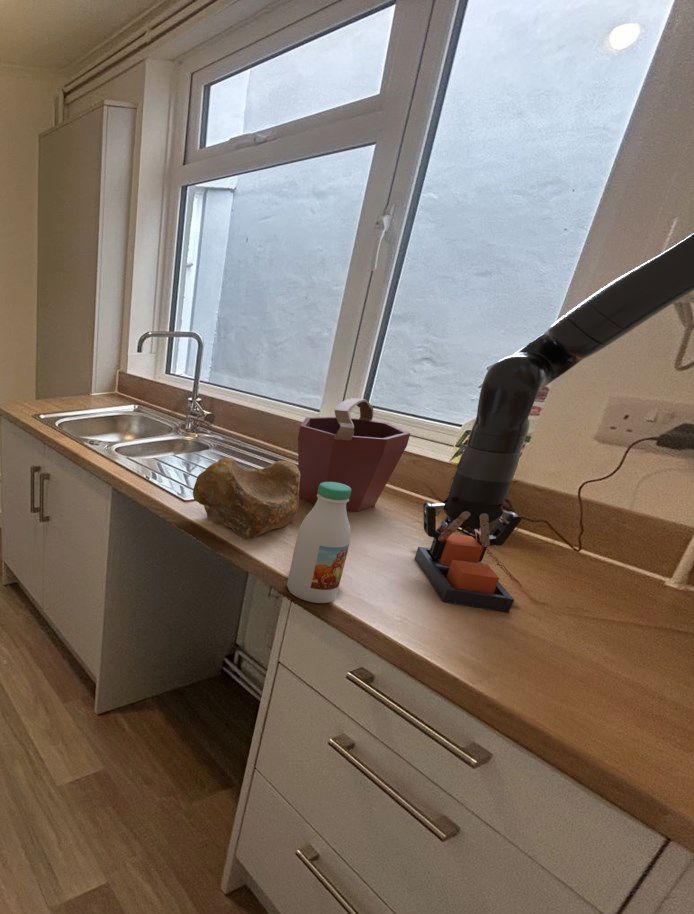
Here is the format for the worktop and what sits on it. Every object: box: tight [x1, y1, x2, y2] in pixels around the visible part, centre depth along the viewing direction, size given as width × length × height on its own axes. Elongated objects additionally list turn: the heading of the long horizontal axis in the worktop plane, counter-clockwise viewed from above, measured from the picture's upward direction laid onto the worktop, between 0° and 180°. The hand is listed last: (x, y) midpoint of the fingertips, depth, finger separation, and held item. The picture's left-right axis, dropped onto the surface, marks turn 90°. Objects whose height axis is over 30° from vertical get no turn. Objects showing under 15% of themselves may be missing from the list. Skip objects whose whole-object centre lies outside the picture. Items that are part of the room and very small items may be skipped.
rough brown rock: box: [192, 457, 301, 540], centre depth 114 cm, size 23×17×15 cm
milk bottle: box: [286, 482, 352, 604], centre depth 88 cm, size 8×8×20 cm
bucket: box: [297, 397, 411, 513], centre depth 129 cm, size 24×22×25 cm
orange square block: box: [446, 560, 500, 594], centre depth 90 cm, size 5×5×4 cm
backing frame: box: [414, 546, 515, 613], centre depth 94 cm, size 9×17×2 cm, turn 159°
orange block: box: [437, 533, 483, 567], centre depth 96 cm, size 5×5×4 cm
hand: (454, 559), depth 97 cm, fingers closed on orange block, 5 cm apart
